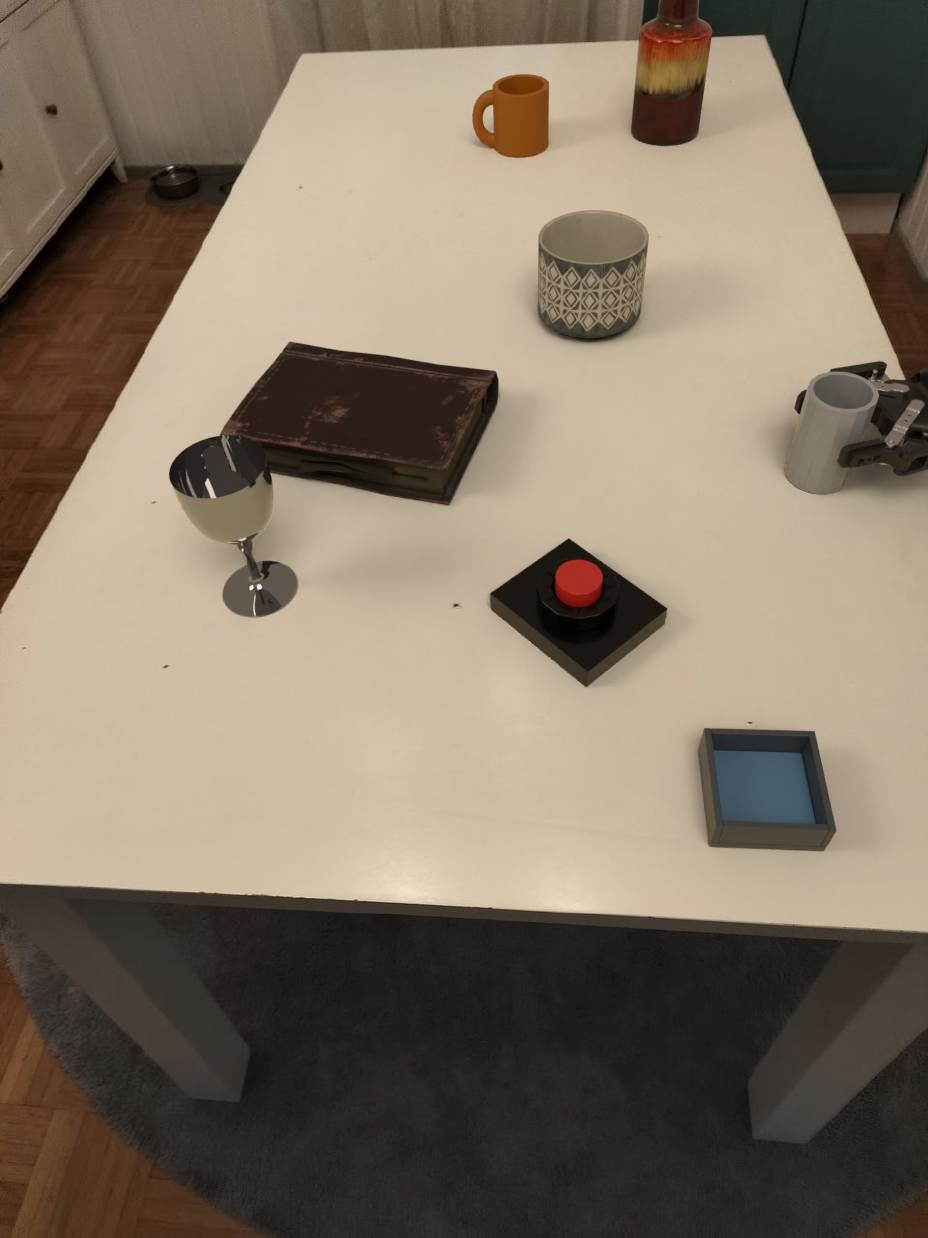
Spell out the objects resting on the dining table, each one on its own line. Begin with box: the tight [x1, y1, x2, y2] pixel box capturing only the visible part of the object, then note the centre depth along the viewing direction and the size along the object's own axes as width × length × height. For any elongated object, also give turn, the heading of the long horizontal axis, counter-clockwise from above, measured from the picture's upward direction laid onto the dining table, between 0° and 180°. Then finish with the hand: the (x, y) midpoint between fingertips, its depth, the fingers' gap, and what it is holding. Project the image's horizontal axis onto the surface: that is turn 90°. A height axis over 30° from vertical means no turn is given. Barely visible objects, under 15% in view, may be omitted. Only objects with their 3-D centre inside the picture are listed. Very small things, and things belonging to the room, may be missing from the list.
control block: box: [489, 538, 668, 688], centre depth 78 cm, size 12×10×4 cm
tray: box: [697, 727, 837, 852], centre depth 65 cm, size 8×8×3 cm
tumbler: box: [784, 371, 879, 495], centre depth 85 cm, size 6×6×10 cm
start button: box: [555, 560, 603, 607], centre depth 76 cm, size 4×4×2 cm
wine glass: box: [168, 435, 299, 618], centre depth 78 cm, size 8×8×15 cm
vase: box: [630, 0, 713, 147], centre depth 136 cm, size 11×11×20 cm
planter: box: [537, 209, 650, 339], centre depth 106 cm, size 13×13×10 cm
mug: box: [471, 73, 550, 158], centre depth 140 cm, size 9×12×9 cm
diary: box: [219, 341, 500, 505], centre depth 95 cm, size 19×25×5 cm
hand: (818, 430), depth 85 cm, fingers open, 8 cm apart
